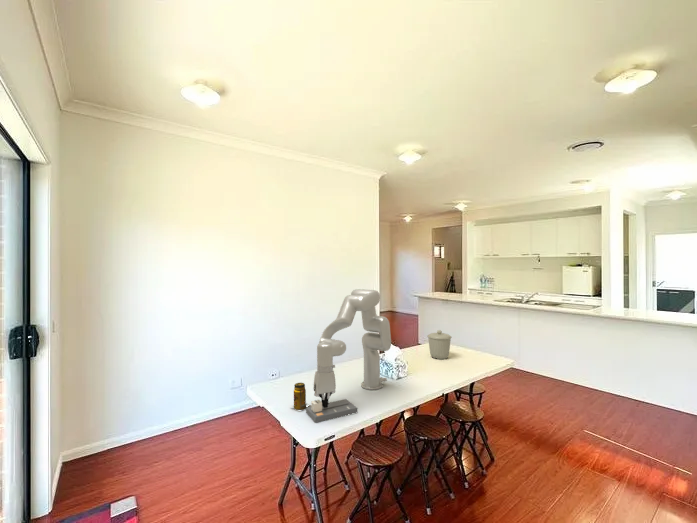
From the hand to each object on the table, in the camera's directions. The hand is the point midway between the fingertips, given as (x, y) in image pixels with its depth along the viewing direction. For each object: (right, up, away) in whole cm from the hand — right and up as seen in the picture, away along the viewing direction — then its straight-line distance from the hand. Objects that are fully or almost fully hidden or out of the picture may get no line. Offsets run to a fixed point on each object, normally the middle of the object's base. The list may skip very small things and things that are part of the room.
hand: (325, 406), depth 162 cm
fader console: (+3, -4, +2) cm, 5 cm away
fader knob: (-4, -1, -2) cm, 4 cm away
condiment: (-13, -4, +8) cm, 16 cm away
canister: (+82, -4, +97) cm, 127 cm away
